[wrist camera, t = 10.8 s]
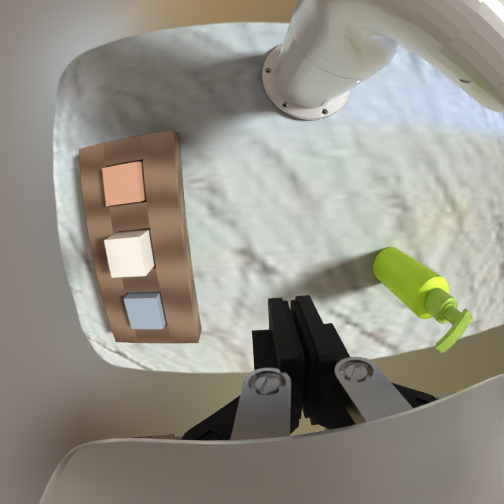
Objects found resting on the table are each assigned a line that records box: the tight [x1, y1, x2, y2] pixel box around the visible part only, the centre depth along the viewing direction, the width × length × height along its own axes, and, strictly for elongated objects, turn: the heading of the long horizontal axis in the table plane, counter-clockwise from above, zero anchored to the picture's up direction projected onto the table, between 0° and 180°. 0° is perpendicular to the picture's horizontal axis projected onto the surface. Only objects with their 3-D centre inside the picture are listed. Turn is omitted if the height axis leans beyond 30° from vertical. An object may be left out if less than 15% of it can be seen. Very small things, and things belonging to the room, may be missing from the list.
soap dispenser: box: [373, 247, 473, 353], centre depth 33 cm, size 6×7×20 cm
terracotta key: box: [102, 162, 146, 206], centre depth 34 cm, size 5×5×4 cm
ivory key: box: [104, 230, 155, 278], centre depth 34 cm, size 5×5×4 cm
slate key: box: [124, 291, 166, 329], centre depth 39 cm, size 5×5×4 cm
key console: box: [79, 130, 201, 343], centre depth 38 cm, size 30×14×4 cm, turn 3°
